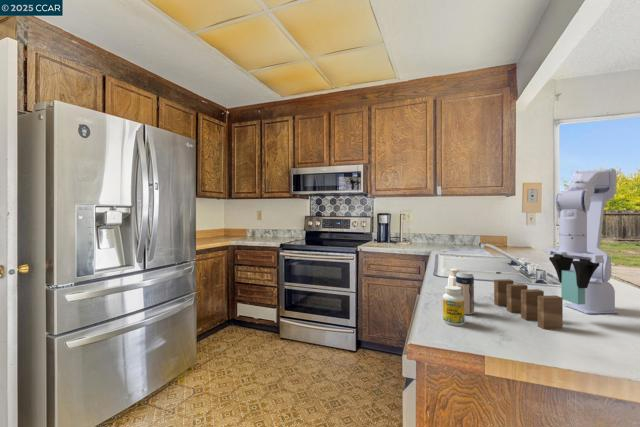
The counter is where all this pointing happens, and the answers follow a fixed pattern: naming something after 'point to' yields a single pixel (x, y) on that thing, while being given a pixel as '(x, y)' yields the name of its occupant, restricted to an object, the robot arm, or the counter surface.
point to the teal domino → (571, 288)
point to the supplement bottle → (453, 306)
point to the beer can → (466, 290)
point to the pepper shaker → (452, 277)
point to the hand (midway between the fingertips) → (572, 285)
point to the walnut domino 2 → (514, 297)
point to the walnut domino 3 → (530, 303)
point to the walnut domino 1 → (501, 291)
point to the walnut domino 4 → (550, 312)
